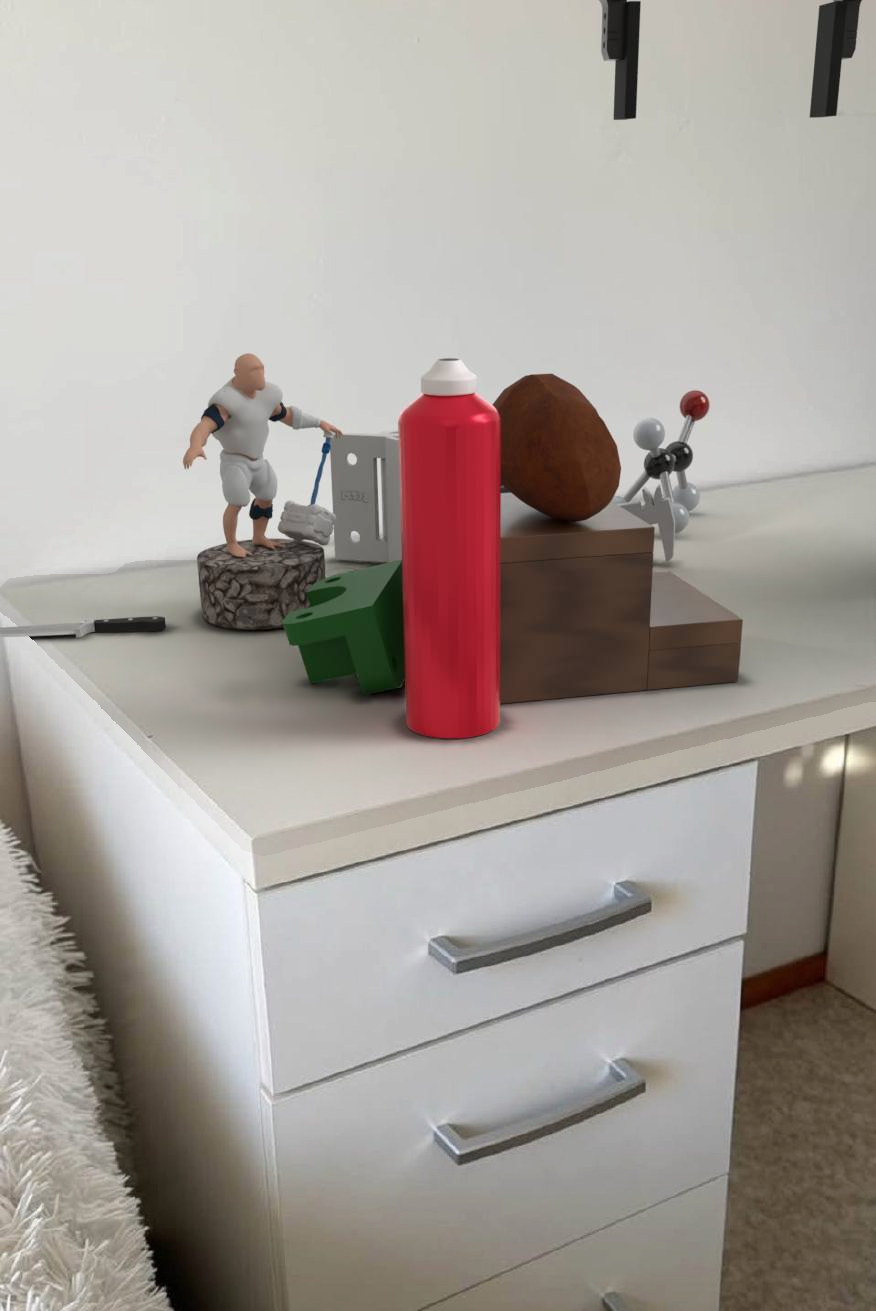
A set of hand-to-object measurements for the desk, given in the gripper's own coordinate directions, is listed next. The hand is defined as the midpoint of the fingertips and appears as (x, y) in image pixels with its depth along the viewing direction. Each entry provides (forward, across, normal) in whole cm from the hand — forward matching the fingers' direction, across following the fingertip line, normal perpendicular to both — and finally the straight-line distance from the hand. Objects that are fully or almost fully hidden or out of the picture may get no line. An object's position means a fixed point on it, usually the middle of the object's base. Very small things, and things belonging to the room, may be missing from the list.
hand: (724, 118), depth 93 cm
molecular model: (+32, -5, -23) cm, 39 cm away
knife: (+31, +47, +3) cm, 56 cm away
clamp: (+32, +27, +14) cm, 44 cm away
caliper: (+32, +8, -12) cm, 35 cm away
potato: (+22, +15, +16) cm, 30 cm away
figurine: (+32, +32, 0) cm, 45 cm away
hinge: (+32, +20, -11) cm, 39 cm away
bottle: (+32, +23, +24) cm, 46 cm away
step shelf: (+32, +12, +15) cm, 37 cm away
